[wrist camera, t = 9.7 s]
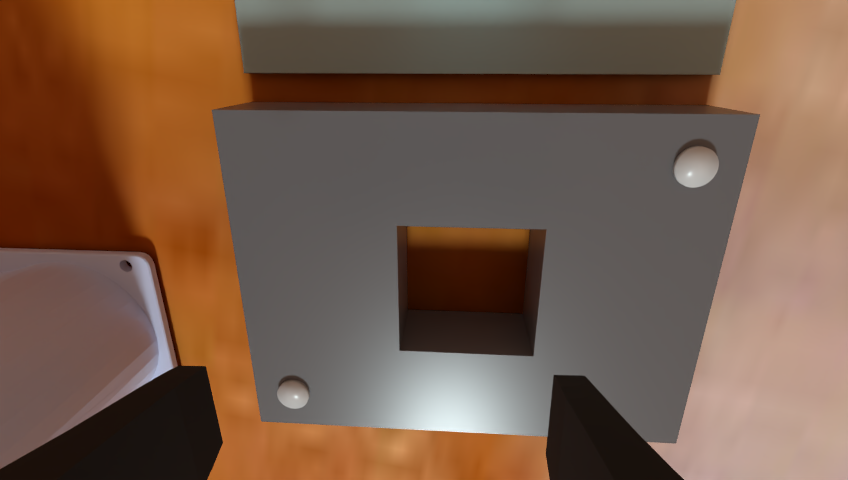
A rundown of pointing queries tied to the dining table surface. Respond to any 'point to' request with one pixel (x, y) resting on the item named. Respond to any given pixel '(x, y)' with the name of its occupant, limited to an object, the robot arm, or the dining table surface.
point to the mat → (484, 36)
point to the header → (478, 208)
